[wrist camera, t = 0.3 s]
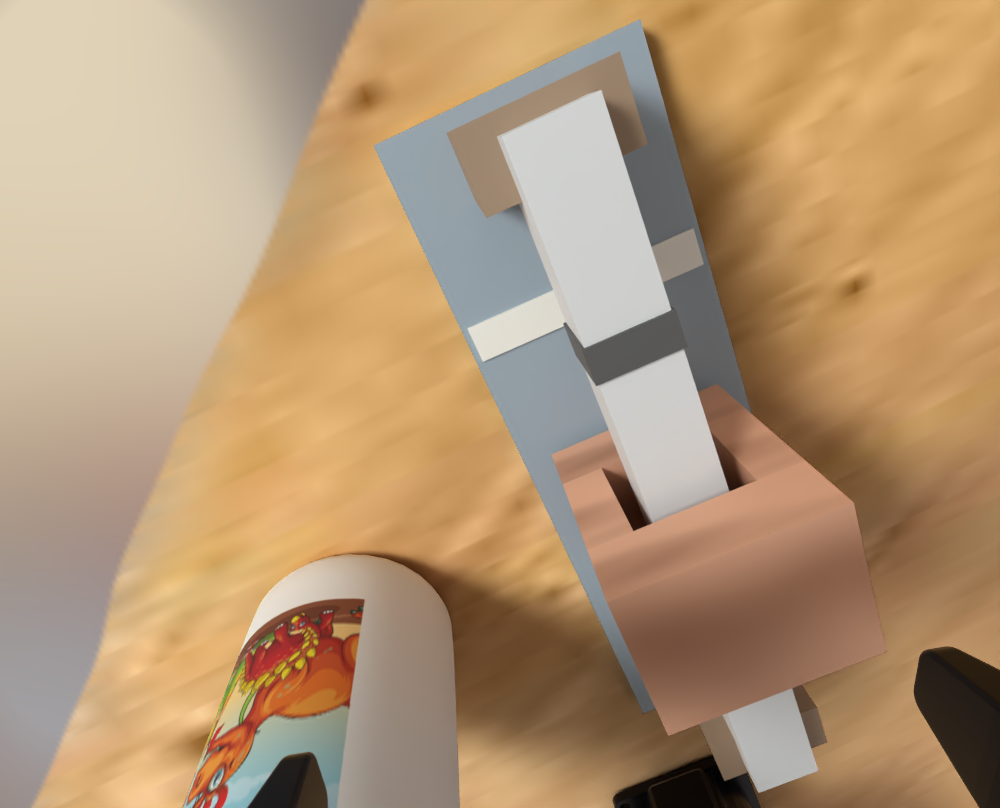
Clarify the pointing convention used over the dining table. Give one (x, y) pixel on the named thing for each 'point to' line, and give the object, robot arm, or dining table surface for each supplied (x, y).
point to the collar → (728, 571)
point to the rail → (520, 272)
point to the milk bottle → (341, 691)
